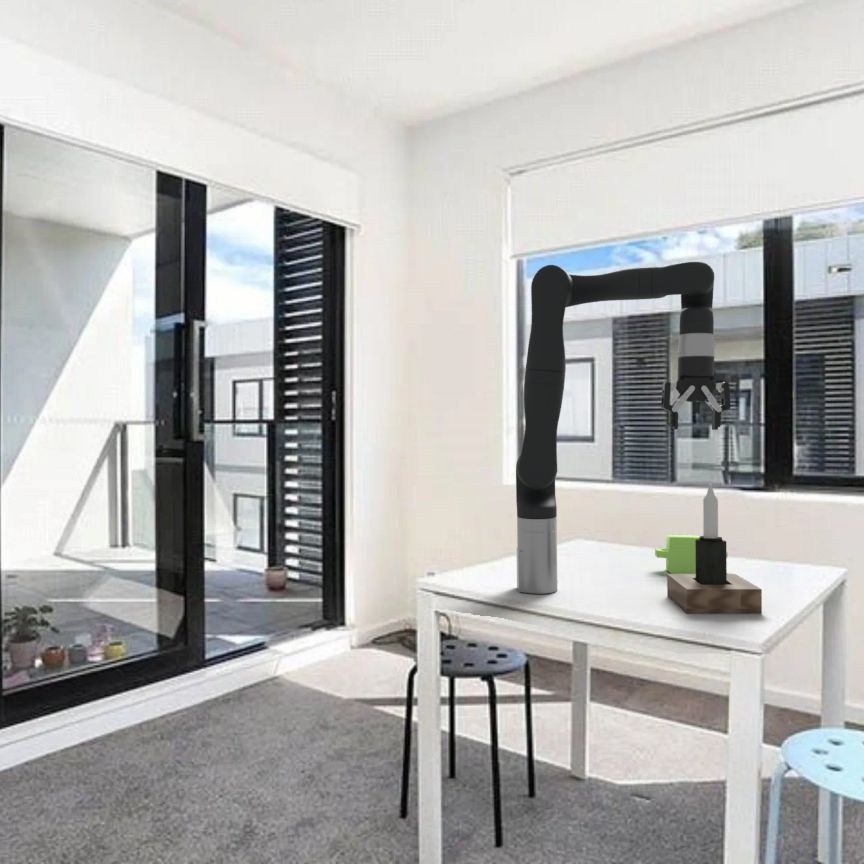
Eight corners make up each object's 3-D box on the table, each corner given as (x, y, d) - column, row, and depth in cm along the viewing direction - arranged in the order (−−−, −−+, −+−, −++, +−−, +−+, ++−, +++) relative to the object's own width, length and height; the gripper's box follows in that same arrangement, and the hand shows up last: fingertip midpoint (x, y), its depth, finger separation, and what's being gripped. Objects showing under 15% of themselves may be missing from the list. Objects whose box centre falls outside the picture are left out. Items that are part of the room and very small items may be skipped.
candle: (693, 598, 160) (692, 482, 160) (712, 595, 162) (711, 481, 162) (709, 603, 156) (709, 484, 155) (729, 601, 157) (728, 483, 157)
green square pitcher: (723, 570, 196) (723, 534, 196) (733, 577, 186) (733, 539, 187) (653, 568, 199) (653, 532, 199) (659, 574, 189) (659, 537, 189)
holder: (686, 613, 152) (686, 589, 152) (667, 596, 167) (667, 573, 167) (761, 613, 151) (761, 589, 151) (735, 596, 166) (735, 573, 166)
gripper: (667, 354, 159) (666, 429, 160) (735, 354, 158) (734, 430, 159) (658, 357, 167) (657, 429, 167) (723, 357, 166) (722, 429, 166)
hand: (695, 429), depth 163 cm, fingers open, 8 cm apart
